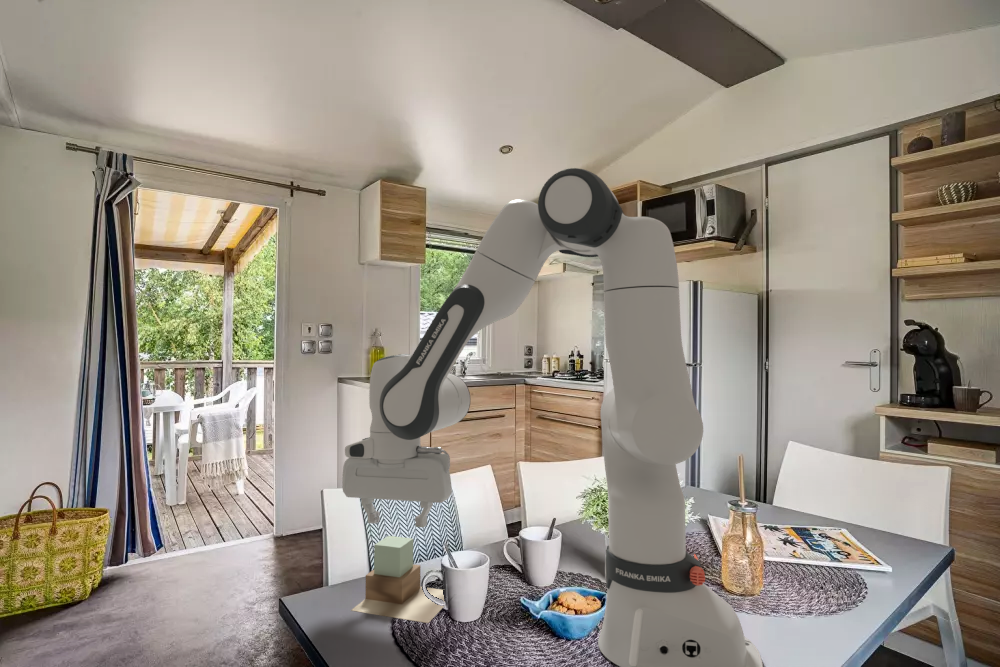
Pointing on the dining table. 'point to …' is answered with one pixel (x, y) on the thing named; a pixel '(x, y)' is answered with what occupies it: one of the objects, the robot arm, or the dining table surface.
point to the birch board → (405, 607)
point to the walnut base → (392, 586)
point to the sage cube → (393, 556)
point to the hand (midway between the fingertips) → (397, 524)
